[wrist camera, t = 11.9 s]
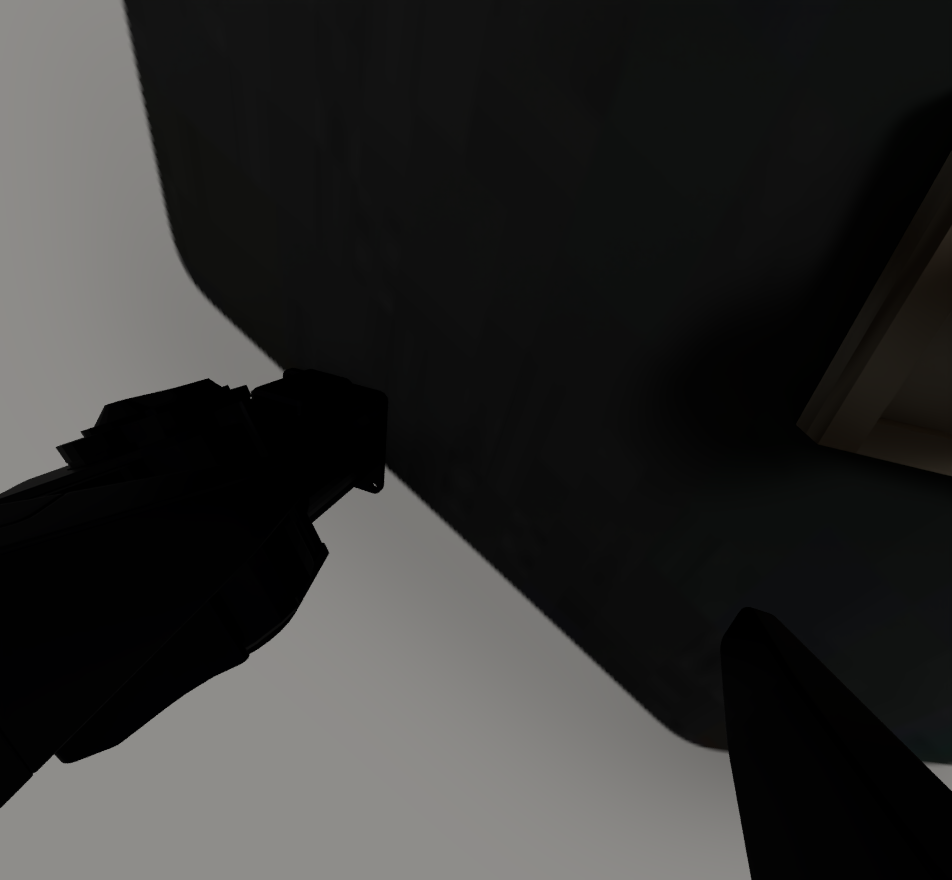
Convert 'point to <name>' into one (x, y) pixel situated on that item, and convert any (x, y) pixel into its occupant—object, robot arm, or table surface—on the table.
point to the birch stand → (898, 353)
